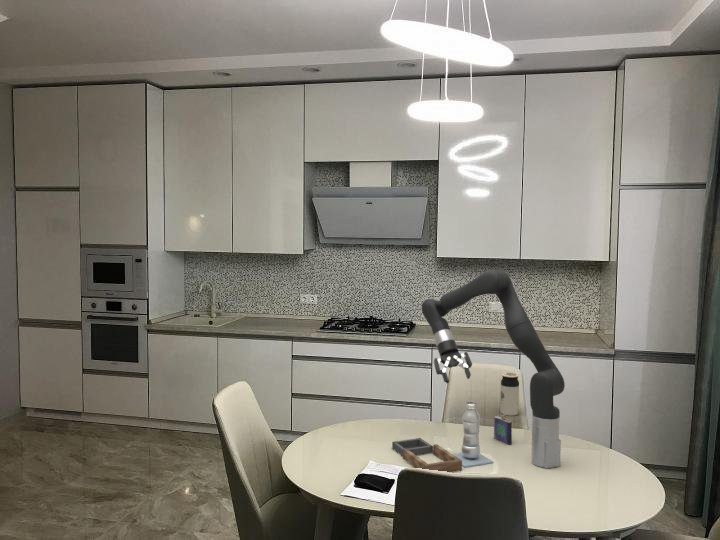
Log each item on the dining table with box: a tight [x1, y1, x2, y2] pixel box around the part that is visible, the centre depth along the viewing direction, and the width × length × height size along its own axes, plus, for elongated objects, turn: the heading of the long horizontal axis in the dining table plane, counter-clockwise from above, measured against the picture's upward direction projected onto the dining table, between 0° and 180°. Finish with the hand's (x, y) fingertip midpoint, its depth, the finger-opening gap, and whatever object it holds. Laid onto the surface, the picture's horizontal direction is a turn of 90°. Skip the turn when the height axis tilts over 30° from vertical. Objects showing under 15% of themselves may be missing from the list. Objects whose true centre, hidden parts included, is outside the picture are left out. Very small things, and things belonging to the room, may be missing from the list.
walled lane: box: [402, 443, 463, 473], centre depth 216 cm, size 18×14×4 cm
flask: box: [493, 414, 513, 446], centre depth 240 cm, size 9×3×11 cm, turn 28°
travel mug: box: [500, 372, 520, 417], centre depth 277 cm, size 8×8×18 cm
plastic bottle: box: [461, 401, 482, 459], centre depth 221 cm, size 6×7×20 cm
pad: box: [452, 451, 494, 469], centre depth 221 cm, size 12×12×1 cm
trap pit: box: [391, 437, 433, 457], centre depth 230 cm, size 10×12×2 cm
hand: (458, 380), depth 236 cm, fingers open, 8 cm apart
